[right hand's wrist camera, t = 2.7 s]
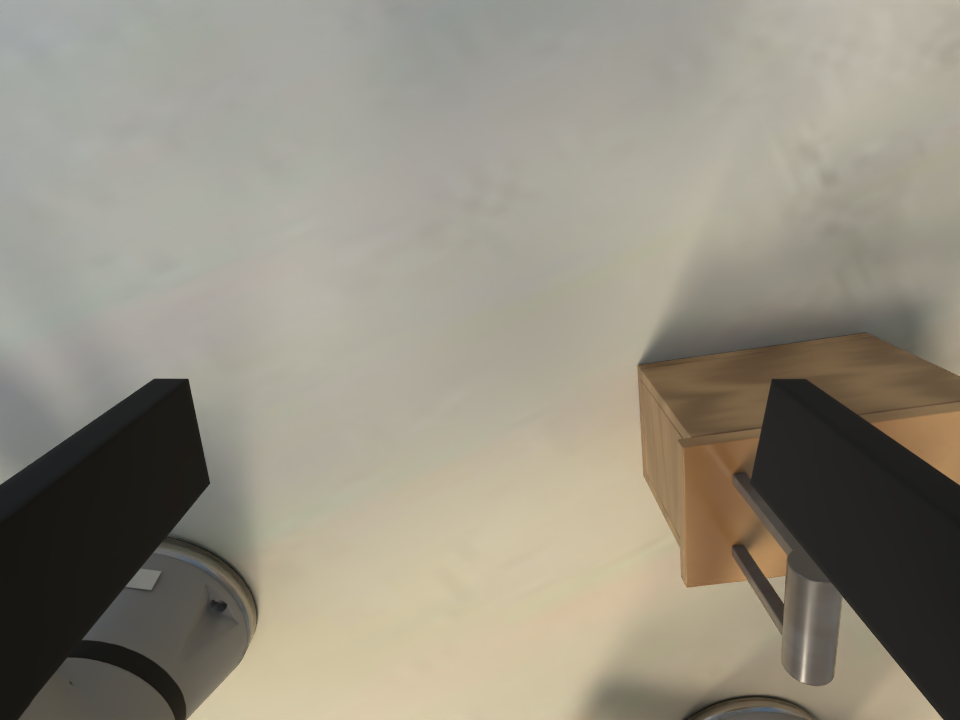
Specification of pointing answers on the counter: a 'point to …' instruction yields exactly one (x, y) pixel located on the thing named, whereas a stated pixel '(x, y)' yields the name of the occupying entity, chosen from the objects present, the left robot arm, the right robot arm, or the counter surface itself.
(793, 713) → the left robot arm
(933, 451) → the lid
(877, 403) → the chest
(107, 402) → the counter surface
